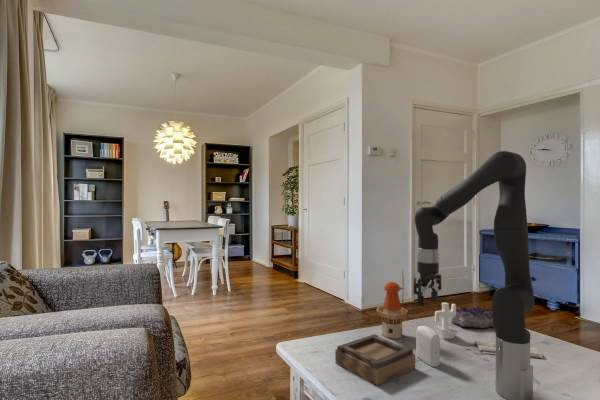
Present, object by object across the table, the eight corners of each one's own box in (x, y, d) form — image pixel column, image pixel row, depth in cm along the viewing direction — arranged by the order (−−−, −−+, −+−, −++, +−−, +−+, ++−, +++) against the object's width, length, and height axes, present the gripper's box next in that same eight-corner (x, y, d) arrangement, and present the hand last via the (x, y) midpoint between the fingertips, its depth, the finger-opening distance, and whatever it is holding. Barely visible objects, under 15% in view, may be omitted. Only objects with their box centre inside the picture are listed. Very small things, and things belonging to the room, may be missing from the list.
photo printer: (441, 366, 128) (441, 332, 128) (431, 367, 127) (431, 333, 127) (423, 354, 138) (423, 322, 138) (414, 355, 137) (414, 323, 137)
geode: (488, 321, 177) (490, 302, 175) (501, 333, 165) (503, 313, 164) (447, 319, 177) (449, 300, 176) (457, 331, 166) (459, 310, 164)
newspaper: (480, 355, 139) (479, 348, 139) (474, 346, 151) (474, 340, 151) (547, 363, 132) (547, 356, 132) (536, 353, 144) (536, 346, 144)
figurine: (431, 334, 159) (431, 300, 159) (450, 333, 160) (450, 300, 160) (439, 340, 152) (439, 305, 152) (460, 339, 153) (460, 304, 153)
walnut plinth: (415, 368, 126) (415, 350, 126) (377, 385, 114) (377, 365, 114) (372, 349, 142) (372, 333, 142) (335, 363, 130) (335, 345, 130)
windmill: (415, 344, 148) (416, 272, 148) (381, 344, 147) (381, 272, 148) (403, 329, 165) (403, 264, 165) (372, 329, 165) (373, 264, 165)
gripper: (425, 263, 125) (425, 309, 125) (447, 260, 134) (447, 303, 134) (407, 260, 131) (407, 304, 131) (430, 257, 140) (429, 298, 140)
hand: (427, 303), depth 132 cm, fingers open, 8 cm apart
